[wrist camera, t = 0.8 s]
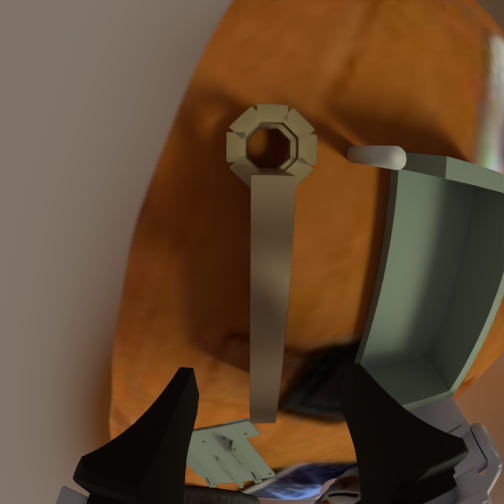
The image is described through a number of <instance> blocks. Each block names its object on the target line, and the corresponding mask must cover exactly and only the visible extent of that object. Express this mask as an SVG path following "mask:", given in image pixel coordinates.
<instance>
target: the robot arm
mask: <svg viewBox="0 0 504 504" xmlns="http://www.w3.org/2000/svg"><path fill="white" fill-rule="evenodd" d="M339 393H340V399H341V405H342V410H343V413H344V416H345V419H346V422H347V425H348V428H349V431H350V435H351V438H352V441H353V444H354V448H355V453H356V458H357V464H358V472H359V480H360V493H361V504H492V501H491V499H490V496H489V493H490V491H491V489H492V487H493V486H494V484H495V482H496V480H497V479H498V477H499V475H500V473H501V470H502V467H501V466H502V461H501V459H500V457H499V453H498V450H497V448H496V446H495V444H494V442H493V440H492V438H491V437H490V435H489V433H488V432H487V430H486V428H485V427H484V426H483V424H481V423H476V422H475V423H474V424H472V425H470V424H469V423H468V421H467V420H466V418H465V416H464V415H463V413H462V411H461V409H460V408H459V406H458V404H457V403H456V401H455V399H454V398H453V396H451V397H449V398H446V399H443V400H440V401H437V402H434V403H431V404H428V405H425V406H422V407H418V408H415V409H411V410H407V409H405V408H404V407H403V406H402V405H400V404H399V403H398V402H397V401H396V400H395V399H394V398H392V397H391V396H390V395H389V394H388V393H387V392H386V391H385V390H384V389H383V388H382V387H381V386H380V385H379V384H378V383H377V382H376V381H375V379H374V378H373V377H372V376H371V375H370V374H369V373H368V372H367V371H366V370H365V369H364V367H363V366H362V365H361V364H360V363H355V364H348V365H347V368H346V371H345V375H344V378H343V381H342V384H341V387H340V390H339ZM198 400H199V393H198V388H197V383H196V379H195V374H194V369H193V368H185V367H180V368H179V369H178V371H177V372H176V374H175V375H174V377H173V378H172V380H171V381H170V383H169V384H168V385H167V387H166V388H165V389H164V391H163V392H162V393H161V395H160V396H159V397H158V398H157V400H156V401H155V402H154V403H153V404H152V405H151V406H150V408H149V409H148V410H147V411H146V412H145V413H144V414H143V415H142V416H141V417H140V418H139V419H138V420H137V421H136V422H135V423H134V424H133V425H132V426H130V427H129V428H128V429H127V430H125V431H124V432H123V433H122V434H120V435H119V436H118V437H116V438H115V439H113V440H112V441H110V442H109V443H107V444H106V445H104V446H102V447H100V448H99V449H97V450H95V451H93V452H91V453H89V454H87V455H85V456H82V457H81V459H80V461H79V463H78V465H77V468H76V470H75V473H74V476H73V479H74V481H75V482H76V483H77V484H78V485H79V486H81V487H82V488H84V489H85V490H86V491H88V492H89V493H90V495H89V498H88V497H87V496H85V495H83V494H81V493H78V492H76V491H74V490H72V489H69V488H68V487H65V486H62V488H61V491H60V493H59V496H58V499H57V502H56V504H184V484H185V472H186V462H187V455H188V449H189V445H190V441H191V437H192V432H193V428H194V424H195V420H196V416H197V409H198ZM486 468H487V469H486ZM484 469H486V471H485V473H484V474H483V475H482V476H480V475H479V473H480V472H482V471H483V470H484Z"/></svg>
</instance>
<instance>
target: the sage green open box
mask: <svg viewBox="0 0 504 504" xmlns="http://www.w3.org/2000/svg"><path fill="white" fill-rule="evenodd" d="M346 156H347V158H348V160H349V161H350V162H352V163H358V164H365V165H371V166H377V167H383V168H388V169H391V173H390V186H389V197H388V206H387V215H386V223H385V230H384V237H383V243H382V250H381V255H380V261H379V266H378V272H377V277H376V282H375V286H374V291H373V295H372V300H371V304H370V308H369V312H368V316H367V320H366V324H365V328H364V331H363V335H362V338H361V342H360V345H359V349H358V352H357V355H356V358H355V362H354V364H355V363H360V364H361V365H362V366H363V367H364V369H365V370H366V371H367V372H368V373H369V374H370V375H371V376H372V377H373V378H374V379H375V381H376V382H377V383H378V384H379V385H380V386H381V387H382V388H383V389H384V390H385V391H386V392H387V393H388V394H389V395H390V396H391V397H392V398H394V399H395V400H396V401H397V402H398V403H399V404H400V405H402V406H403V407H404V408H405V409H407V410H411V409H415V408H418V407H422V406H425V405H428V404H431V403H434V402H437V401H440V400H443V399H446V398H449V397H451V396H453V395H454V393H455V391H456V390H457V388H458V387H459V385H460V384H461V382H462V380H463V379H464V377H465V375H466V374H467V372H468V370H469V368H470V367H471V365H472V363H473V361H474V359H475V358H476V356H477V354H478V352H479V350H480V348H481V346H482V344H483V342H484V340H485V338H486V336H487V333H488V331H489V329H490V327H491V325H492V322H493V320H494V318H495V315H496V313H497V310H498V308H499V305H500V302H501V300H502V297H503V294H504V174H502V173H499V172H496V171H493V170H490V169H488V168H485V167H482V166H478V165H475V164H472V163H469V162H465V161H462V160H459V159H455V158H451V157H448V156H440V155H431V154H421V153H409V152H404V150H403V149H402V148H401V147H399V146H351V147H349V148H348V149H347V152H346Z"/></svg>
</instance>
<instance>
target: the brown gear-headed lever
mask: <svg viewBox="0 0 504 504" xmlns="http://www.w3.org/2000/svg"><path fill="white" fill-rule="evenodd" d="M230 128H231V129H232V130H233V131H234V132H227V162H234V163H233V164H232V165H231V166H230V167H229V168H230V169H231V170H232V171H233V172H234V173H235V174H236V175H237V176H238V177H239V178H240V179H241V180H242V181H243V182H244V183H245V184H246V185H247V186H248V187H249V188H250V189H251V260H250V423H275V420H276V413H277V406H278V398H279V390H280V381H281V373H282V364H283V354H284V345H285V335H286V324H287V313H288V301H289V289H290V276H291V262H292V246H293V228H294V208H295V187H296V186H297V185H298V184H299V183H300V182H301V181H302V180H303V179H304V178H305V177H306V176H307V175H309V174H310V173H311V172H312V171H313V170H314V169H313V168H312V167H311V166H310V165H309V164H316V154H317V135H309V134H310V133H311V132H313V131H314V130H315V129H314V128H313V127H312V126H311V125H310V124H309V123H308V122H307V121H306V120H305V119H304V118H303V117H302V116H301V115H300V114H299V113H298V112H297V111H296V110H295V109H294V108H293V109H292V110H290V111H289V112H288V105H273V104H257V111H256V110H255V109H254V108H253V107H252V106H251V107H250V108H249V109H248V110H247V111H245V112H244V113H243V114H242V115H241V116H240V117H239V118H238V119H237V120H236V121H235V122H234V123H233V124H232V125H231V126H230ZM259 129H277V130H278V131H279V132H280V133H281V134H282V135H283V136H284V137H285V138H286V139H287V140H288V141H289V144H288V158H287V159H286V160H285V161H284V162H283V163H282V164H281V165H280V166H279V167H278V168H277V169H273V168H258V167H257V166H256V165H255V164H254V163H253V162H252V161H251V160H250V159H249V158H248V157H247V140H248V139H249V138H250V137H251V136H252V135H253V134H254V133H255V132H256V131H258V130H259Z"/></svg>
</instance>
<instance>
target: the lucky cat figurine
mask: <svg viewBox="0 0 504 504" xmlns="http://www.w3.org/2000/svg"><path fill="white" fill-rule="evenodd" d="M314 504H361V493H360V480H359V472H358V466H355V467H352V468H349V469H347V470H346V471H345V472H344V473H343V474H342V475H341V476H338V478H337V479H336V480H335V482H334V483H333V484H332V485H331V486H330V487H329V488H328V490H327V491H326V492H325V493H324V494H323V495H322V496H321V497H320V498H319V499H318V500H317V501H316V502H315V503H314Z"/></svg>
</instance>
